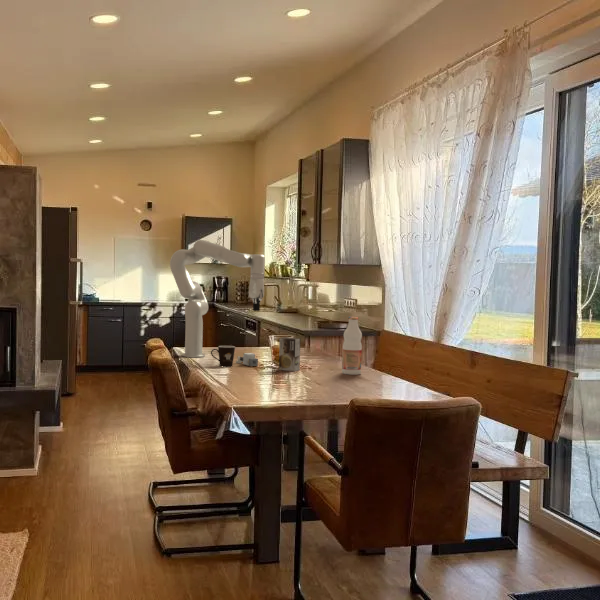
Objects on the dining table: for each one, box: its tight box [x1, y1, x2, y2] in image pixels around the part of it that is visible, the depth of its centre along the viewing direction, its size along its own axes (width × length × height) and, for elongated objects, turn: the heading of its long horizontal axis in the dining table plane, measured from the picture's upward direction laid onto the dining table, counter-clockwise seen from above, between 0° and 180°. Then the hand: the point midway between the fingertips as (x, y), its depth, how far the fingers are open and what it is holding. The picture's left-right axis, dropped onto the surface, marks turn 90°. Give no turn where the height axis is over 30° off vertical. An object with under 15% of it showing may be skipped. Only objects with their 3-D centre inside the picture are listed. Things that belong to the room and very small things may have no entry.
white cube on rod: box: [242, 352, 256, 366], centre depth 374 cm, size 4×4×6 cm
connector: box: [248, 357, 259, 367], centre depth 370 cm, size 2×4×4 cm, turn 121°
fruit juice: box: [341, 316, 363, 376], centre depth 357 cm, size 9×9×28 cm
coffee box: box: [278, 336, 301, 372], centre depth 362 cm, size 9×6×16 cm
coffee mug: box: [210, 345, 236, 368], centre depth 368 cm, size 12×9×10 cm
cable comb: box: [235, 355, 243, 364], centre depth 382 cm, size 1×6×4 cm, turn 121°
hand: (256, 310), depth 394 cm, fingers closed
